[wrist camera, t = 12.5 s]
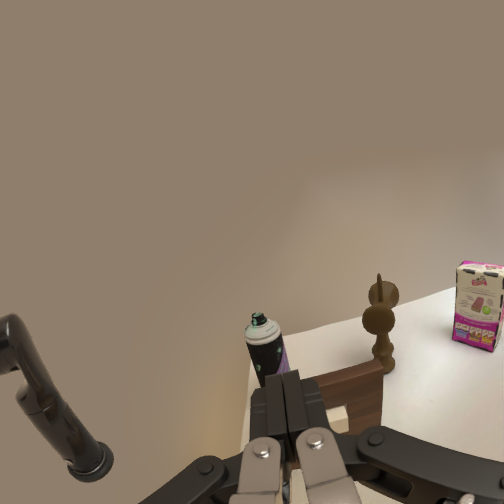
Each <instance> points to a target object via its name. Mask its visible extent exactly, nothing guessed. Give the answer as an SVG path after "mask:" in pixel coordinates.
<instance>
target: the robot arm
mask: <svg viewBox="0 0 504 504" xmlns="http://www.w3.org/2000/svg"><path fill="white" fill-rule="evenodd" d="M18 370H21V371H22V373H23V375H24V377H25V379H26V380H25V381H24V382H23V383H22V384H21V385H20V386H19V388H18V389H17V392H16V395H15V399H16V402H17V404H18V405H19V407H20V408H21V410H22V411H23V412H24V414H25V415H26V416H27V418H28V419H29V420H30V421H31V423H32V424H33V425H34V427H35V428H36V429H37V430H38V431H39V432H40V434H41V435H42V436H43V438H44V439H45V440H46V441H47V442H48V443H49V444H50V445H51V447H52V448H53V449H54V450H55V451H56V452H57V453H58V454H59V455H60V457H61V458H62V460H63V461H64V462H66V463H67V464H68V465H69V466H70V467H71V468H72V469H73V470H74V471H75V472H76V473H77V474H79V475H91V474H94V473H96V472H97V471H98V470H100V469H101V468H102V466H103V465H104V463H105V460H106V452H105V450H104V449H103V448H102V447H101V446H100V445H99V444H98V443H97V441H96V440H95V439H94V438H93V436H92V435H91V434H90V433H89V432H88V430H87V429H86V428H85V427H84V425H83V424H82V423H81V421H80V420H79V419H78V417H77V416H76V415H75V413H74V412H73V411H72V409H71V408H70V407H69V405H68V404H67V402H66V401H65V399H64V398H63V396H62V395H61V393H60V392H59V391H58V389H57V387H56V386H55V384H54V382H53V380H52V378H51V376H50V373H49V371H48V369H47V367H46V365H45V364H44V362H43V360H42V358H41V356H40V354H39V352H38V350H37V347H36V345H35V343H34V341H33V338H32V336H31V334H30V332H29V330H28V328H27V326H26V324H25V323H24V321H23V320H22V318H21V317H20V316H19V315H17V314H16V313H9V314H6V315H4V316H1V317H0V376H3V375H7V374H10V373H13V372H16V371H18ZM282 376H283V378H282ZM250 414H251V415H250V439H249V443H248V444H247V445H246V446H245V448H244V451H242V452H241V453H240V454H238V455H236V456H233V457H230V458H228V459H224V460H221V459H220V458H217V457H215V456H203V457H200V458H198V459H196V460H195V461H193V462H192V463H191V464H190V465H189V466H187V467H186V468H185V469H184V470H183V471H181V472H180V473H179V474H178V475H176V476H175V477H174V478H173V479H171V480H170V481H169V482H167V483H166V484H165V485H163V486H162V487H161V488H160V489H158V490H157V491H155V492H154V493H153V494H151V495H150V496H148V497H147V498H146V499H144V500H143V501H141V502H140V503H138V504H292V477H291V463H296V457H297V461H298V462H300V465H301V469H302V473H303V478H304V482H305V486H306V492H307V497H308V501H309V504H362V502H361V500H360V497H359V494H358V492H357V489H356V486H355V484H354V481H358V482H359V483H361V484H362V485H364V486H366V487H368V488H370V489H372V490H374V491H377V492H379V493H381V494H383V495H385V496H387V497H390V498H392V499H394V500H396V501H399V502H401V503H404V504H504V462H499V461H494V460H490V459H485V458H481V457H477V456H473V455H469V454H465V453H462V452H458V451H455V450H451V449H448V448H445V447H441V446H438V445H435V444H432V443H429V442H426V441H423V440H420V439H417V438H415V437H412V436H409V435H406V434H404V433H401V432H398V431H396V430H393V429H391V428H388V427H385V426H373V427H369V428H367V429H365V430H364V431H363V432H362V433H361V434H360V435H342V434H339V433H336V432H335V431H334V430H333V429H332V428H331V427H330V424H329V421H328V417H327V413H326V410H325V406H324V402H323V398H322V395H321V391H320V388H319V384H318V383H317V382H316V381H315V380H314V379H313V378H312V377H311V378H307V379H302V380H300V377H299V372H298V369H297V370H293V371H288V372H283V373H282V374H281V373H279V374H274V375H269V376H265V387H263V388H258V389H255V391H254V392H253V394H252V396H251V408H250ZM295 454H296V456H295Z"/></svg>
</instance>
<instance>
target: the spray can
mask: <svg viewBox="0 0 504 504" xmlns="http://www.w3.org/2000/svg"><path fill="white" fill-rule="evenodd" d="M252 319H253V320H252V321H251V323H250V325H249V326H247V327H246V328H245V330H244V335H245V340H246V344H247V347H248V350H249V353H250V356H251V359H252V362H253V365H254V368H255V371H256V374H257V377H258V380H259V383H260V386H261V388H263V387H265V376H269V375H274V374H279V373H281V374H282V373H283V372H288V371H290V367H289V363H288V359H287V355H286V351H285V346H284V342H283V338H282V334H281V330H280V327H279V325H278V323H277V322H276V321H274V320H269V319H268V318H266V317H264V315H263V313H254V314H252ZM282 378H283V376H282Z"/></svg>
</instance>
